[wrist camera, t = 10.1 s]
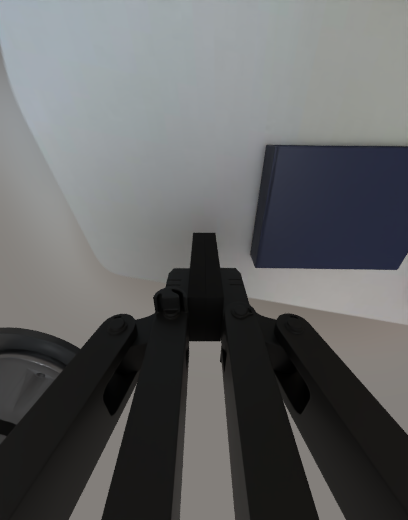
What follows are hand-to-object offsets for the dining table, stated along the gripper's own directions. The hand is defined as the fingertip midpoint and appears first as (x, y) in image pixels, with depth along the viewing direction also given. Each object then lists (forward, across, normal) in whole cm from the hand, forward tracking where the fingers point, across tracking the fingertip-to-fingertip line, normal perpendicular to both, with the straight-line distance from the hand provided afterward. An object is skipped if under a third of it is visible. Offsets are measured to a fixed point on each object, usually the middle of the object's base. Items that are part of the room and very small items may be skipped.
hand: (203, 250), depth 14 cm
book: (+9, +14, 0) cm, 17 cm away
